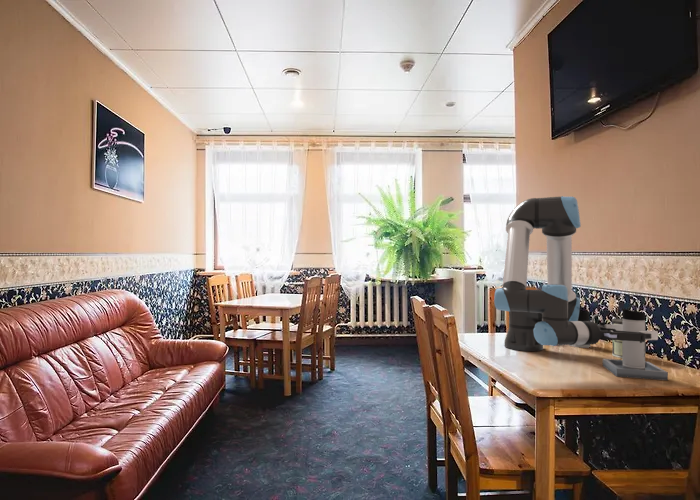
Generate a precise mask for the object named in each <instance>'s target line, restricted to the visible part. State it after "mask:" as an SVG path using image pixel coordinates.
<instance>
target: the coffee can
mask: <svg viewBox="0 0 700 500" xmlns="http://www.w3.org/2000/svg"><path fill="white" fill-rule="evenodd" d="M622 321H623V319H622V318H612V319H611V322H612V323H611V324H622ZM611 341H612V354H611V355H612V357H615V358H618V359H622V340H611Z"/></svg>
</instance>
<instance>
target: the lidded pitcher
mask: <svg viewBox="0 0 700 500" xmlns="http://www.w3.org/2000/svg"><path fill="white" fill-rule="evenodd" d="M597 316H600V317H601V322H603V323H604V318H603V316H602V314H594V315H593V316H592V318H591V321H592V322H594V319H595V317H597ZM578 321H590V311H588V310H580V309H579V317H578ZM568 346H569V347H574V346H572V345H568ZM589 347H590V348H591V347H592V345H584V344H583V345H577V344H576V346H575V347H574V348H581V349H582V348H583V349H584V348H585V349H586V348H587V349H589Z"/></svg>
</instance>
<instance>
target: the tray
mask: <svg viewBox="0 0 700 500" xmlns="http://www.w3.org/2000/svg"><path fill="white" fill-rule="evenodd" d="M622 364H623V363H622V359H615V358H614V359H613V358H611V359H610V358H602V367H603V368H605V369H606V370H607V371H609V372H610V373H611V374H613V375H614V376H615V377H617V378H619V377H620V378H630V379H631V378H632V379H643V378H644V380H645V379H646V380H657V381H658V380H660V381H669V378H668V377H669V374H668V371H666V370H664V369H662V368H661V367H659V366H657V365H655V364H654V363H652V362H650V361H645V370H640V369H626V368H622Z"/></svg>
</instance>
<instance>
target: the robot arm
mask: <svg viewBox="0 0 700 500" xmlns="http://www.w3.org/2000/svg"><path fill="white" fill-rule="evenodd" d="M578 203H579V202H578V200H577V198H576V197H574V196H563V195H562V196H550V197H549V196H548V197H537V198H536V197H532V198H528V199H525V200H523V201H521V202H520V203H519V204H518V205H516V206H515V207H514V208H513V209H512V211H511V212H510V214H509V215H508V217H507V219H506V224H505V231H506V233H507V240H506V251H505V260H504V270H503V277H502V278H503V279H502V287H500V288H496V289H495V291H494V299H493V300H494V301H493V302H494V307H495V309H496V310H498V311H503V312H504V311H505V312H508V330H507V333H506V336H505V339H504V343H503V344H504V347H505V348H507V349H510V350H516V351H522V352H540V351H543V350H544V346H552V347H556V346H569V345H572V346H571V347H573V346H574V348H576V347H575V346H576V344H577V345H583V344H584V345H591V346H592V345H595V344H598V343H599V342H600V340H605V341H606V340H609V341H612V340H623V341H640V343H642V342H645V343H646V341H658V339H659V331H658V330H645V331H638V332H630V331H622V324H612V323H610V324H607V323H606V324H604V321H603V322H602V321H601V322H599V323H596V322H594V321H593V322H592V320H589V321H578V317H579V310H580V307H581V299H580V297H577V294H576V293H575V292H574V291H573V288H572V286H573V285H572V284H573V283H572V280H573V278H572V277H573V276H572V275H573V274H572V272H573V270H572V268H573V267H572V263H573V262H572V260H573V259H572V258H573V257H572V255H573V253H572V249H573V247H572V244H573V243H572V241H573V240H572V238H573V236H574V235H575V234H576V233H577V229H579V228H581V225H582V224H581V218H580V209H579V204H578ZM535 229H537V230H538V229H541V233H542V235H543V236H544V237H546V263H547V264H546V268H547V269H546V271H547V276H546V277H547V283H545V284H543V285H542V286H541V289H527V281H528V266H529V252H530V251H529V250H530V241H531V239H530V238H531V235H532V234H533V232H534V230H535Z"/></svg>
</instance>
